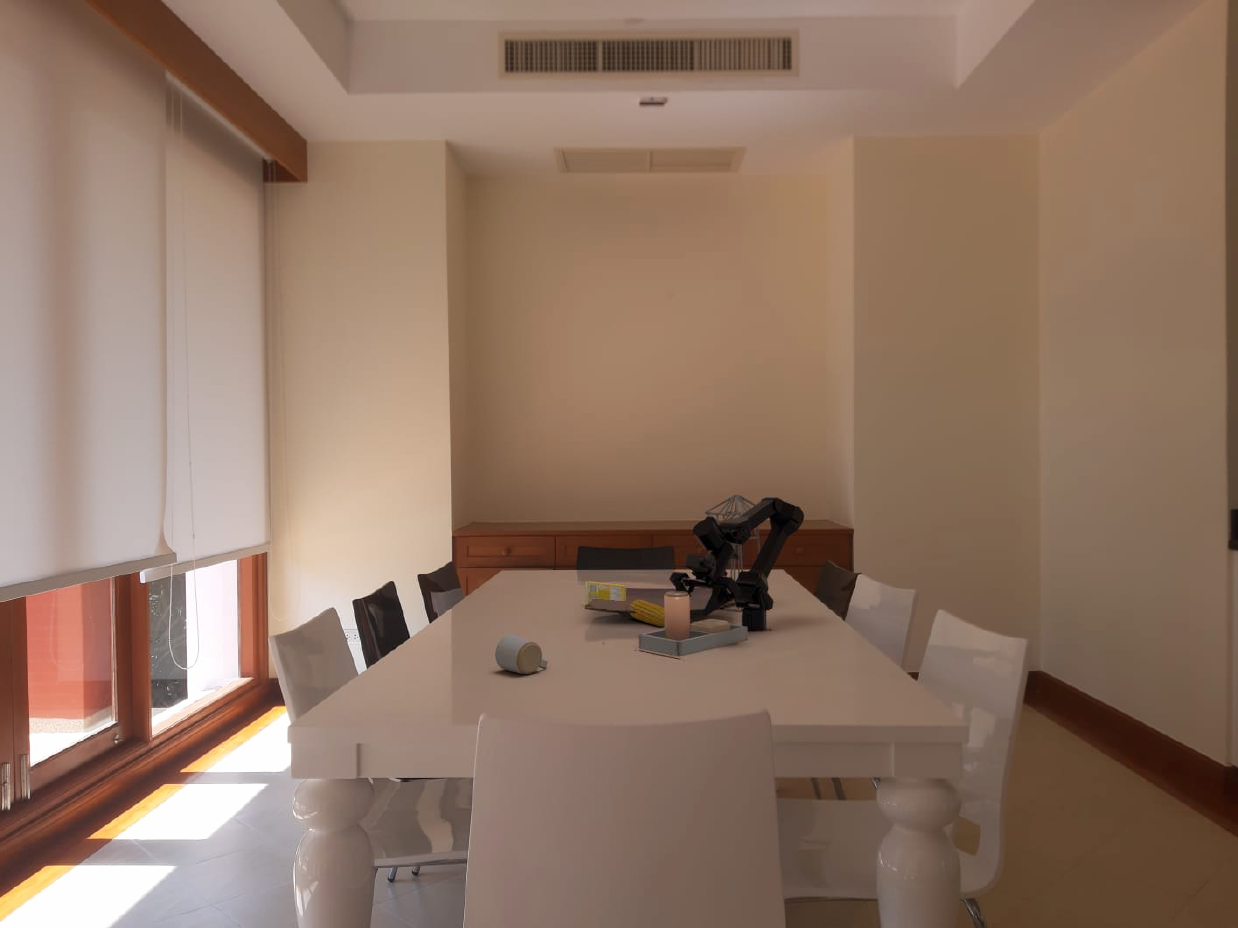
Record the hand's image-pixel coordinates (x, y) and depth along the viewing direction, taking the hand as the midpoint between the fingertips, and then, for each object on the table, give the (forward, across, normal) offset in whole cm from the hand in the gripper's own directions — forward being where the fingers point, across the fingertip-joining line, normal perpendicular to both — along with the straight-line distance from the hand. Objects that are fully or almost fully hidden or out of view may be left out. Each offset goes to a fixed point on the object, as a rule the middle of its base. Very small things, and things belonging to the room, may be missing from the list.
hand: (689, 612), depth 208 cm
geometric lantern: (-32, -26, +45) cm, 61 cm away
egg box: (0, 0, +11) cm, 11 cm away
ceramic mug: (+35, -12, -24) cm, 44 cm away
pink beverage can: (+9, 0, +2) cm, 9 cm away
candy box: (-11, -55, +24) cm, 61 cm away
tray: (+5, 0, +7) cm, 9 cm away
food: (-6, -28, +19) cm, 35 cm away
